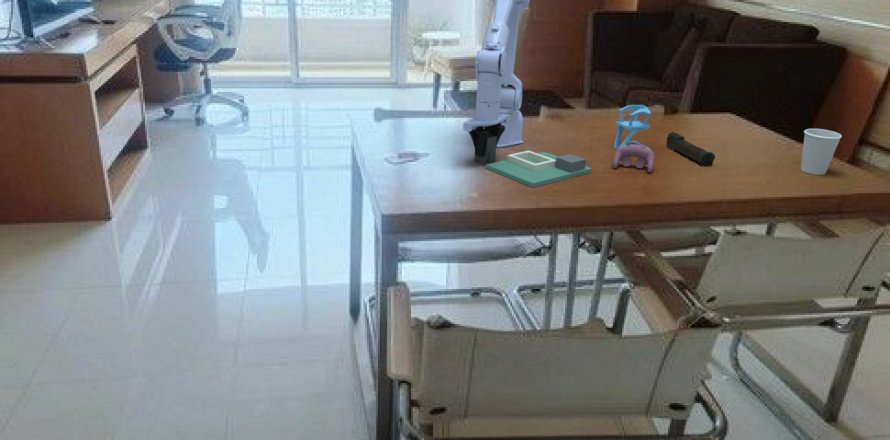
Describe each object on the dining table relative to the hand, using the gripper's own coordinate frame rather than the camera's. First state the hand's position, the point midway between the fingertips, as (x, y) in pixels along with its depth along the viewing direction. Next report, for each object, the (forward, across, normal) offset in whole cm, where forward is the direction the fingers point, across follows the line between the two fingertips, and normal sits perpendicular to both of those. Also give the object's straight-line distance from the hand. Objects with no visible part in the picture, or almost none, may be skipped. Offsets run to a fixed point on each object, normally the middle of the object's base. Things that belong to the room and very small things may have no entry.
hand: (485, 154), depth 166 cm
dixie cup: (+2, -61, +57) cm, 84 cm away
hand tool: (+2, -47, +29) cm, 55 cm away
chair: (+2, -40, +16) cm, 44 cm away
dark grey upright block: (+2, 0, 0) cm, 2 cm away
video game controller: (+2, -26, +26) cm, 37 cm away
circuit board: (+2, -6, +13) cm, 14 cm away
